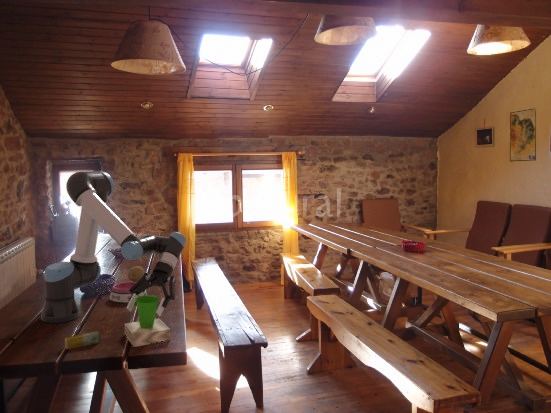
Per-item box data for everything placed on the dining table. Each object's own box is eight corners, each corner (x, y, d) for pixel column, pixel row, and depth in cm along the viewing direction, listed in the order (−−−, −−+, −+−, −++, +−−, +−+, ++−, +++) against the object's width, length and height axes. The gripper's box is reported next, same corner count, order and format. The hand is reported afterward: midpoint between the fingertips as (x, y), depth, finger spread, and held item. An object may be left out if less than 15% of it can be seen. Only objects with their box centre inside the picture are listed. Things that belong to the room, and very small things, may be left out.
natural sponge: (133, 286, 255) (133, 268, 254) (124, 283, 261) (124, 266, 260) (147, 283, 261) (147, 266, 260) (139, 280, 267) (139, 263, 266)
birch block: (133, 348, 173) (133, 335, 173) (124, 335, 185) (124, 323, 185) (170, 341, 181) (170, 329, 180) (159, 330, 193) (159, 318, 192)
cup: (163, 325, 184) (164, 298, 183) (146, 332, 176) (147, 304, 175) (147, 319, 189) (147, 293, 187) (129, 326, 181) (130, 299, 179)
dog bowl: (115, 293, 243) (115, 280, 242) (151, 293, 244) (151, 280, 243) (104, 303, 224) (104, 290, 224) (143, 304, 225) (143, 290, 225)
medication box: (98, 340, 179) (98, 330, 179) (100, 343, 177) (100, 332, 177) (64, 347, 172) (64, 337, 172) (66, 350, 170) (66, 339, 170)
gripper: (194, 273, 191) (174, 320, 178) (143, 267, 199) (121, 312, 187) (188, 263, 185) (167, 311, 173) (135, 258, 194) (112, 303, 181)
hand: (143, 312), depth 180 cm, fingers open, 13 cm apart
